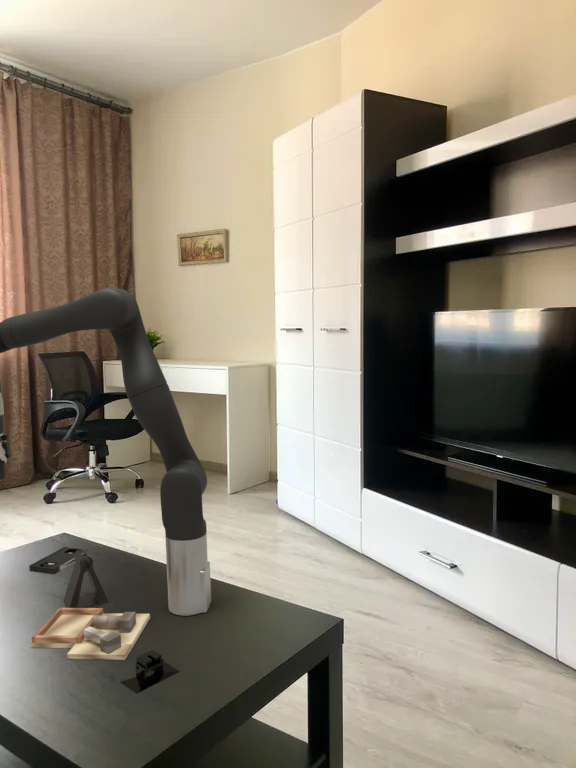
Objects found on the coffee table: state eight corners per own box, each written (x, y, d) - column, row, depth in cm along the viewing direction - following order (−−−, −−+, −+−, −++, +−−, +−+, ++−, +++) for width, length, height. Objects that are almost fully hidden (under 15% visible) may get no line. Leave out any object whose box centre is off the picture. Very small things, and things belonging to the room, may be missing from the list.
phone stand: (68, 612, 141) (65, 561, 140) (63, 602, 146) (60, 553, 145) (108, 602, 145) (105, 553, 144) (102, 593, 151) (99, 545, 149)
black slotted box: (131, 702, 107) (130, 677, 107) (109, 686, 112) (108, 662, 112) (189, 672, 116) (188, 649, 116) (166, 658, 121) (165, 636, 121)
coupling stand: (150, 618, 137) (149, 602, 137) (125, 659, 120) (124, 642, 120) (59, 617, 138) (58, 601, 138) (21, 658, 122) (20, 640, 121)
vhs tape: (54, 576, 163) (53, 568, 163) (29, 572, 165) (29, 565, 165) (87, 556, 176) (87, 549, 176) (64, 553, 179) (64, 546, 178)
